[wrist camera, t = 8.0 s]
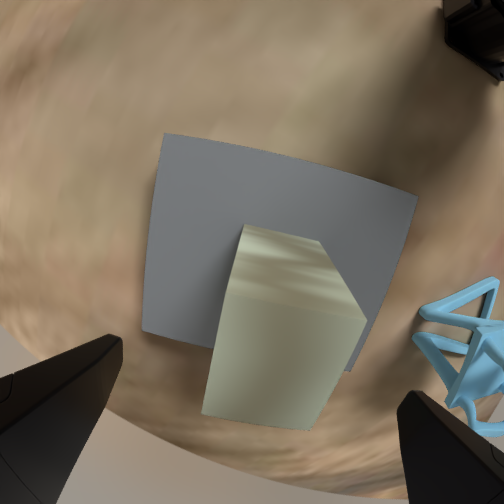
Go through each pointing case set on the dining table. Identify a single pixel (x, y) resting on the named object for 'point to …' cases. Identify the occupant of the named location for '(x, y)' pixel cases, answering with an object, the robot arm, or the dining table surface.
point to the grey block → (264, 216)
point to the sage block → (281, 333)
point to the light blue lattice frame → (468, 352)
